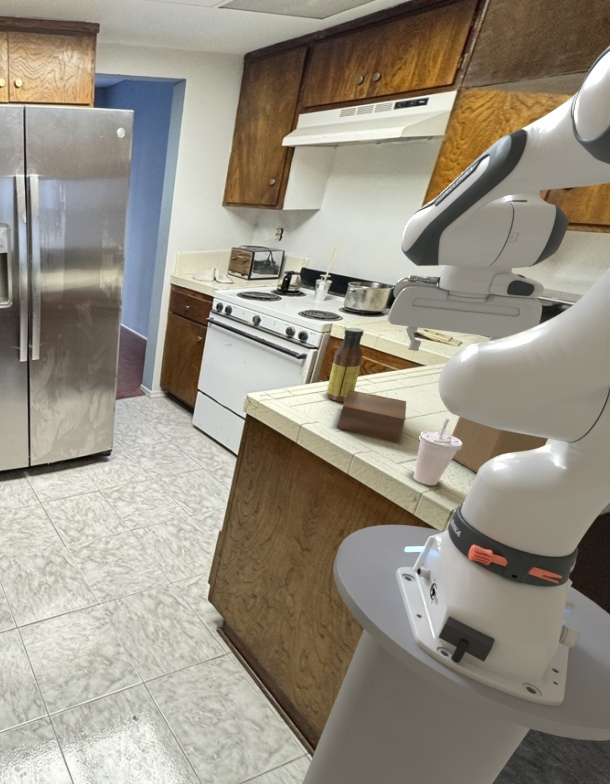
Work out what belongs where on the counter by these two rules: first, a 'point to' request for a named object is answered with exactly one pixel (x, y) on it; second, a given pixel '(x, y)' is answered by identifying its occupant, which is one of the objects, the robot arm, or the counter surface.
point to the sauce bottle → (345, 366)
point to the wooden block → (489, 443)
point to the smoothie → (435, 455)
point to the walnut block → (373, 415)
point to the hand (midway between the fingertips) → (444, 354)
